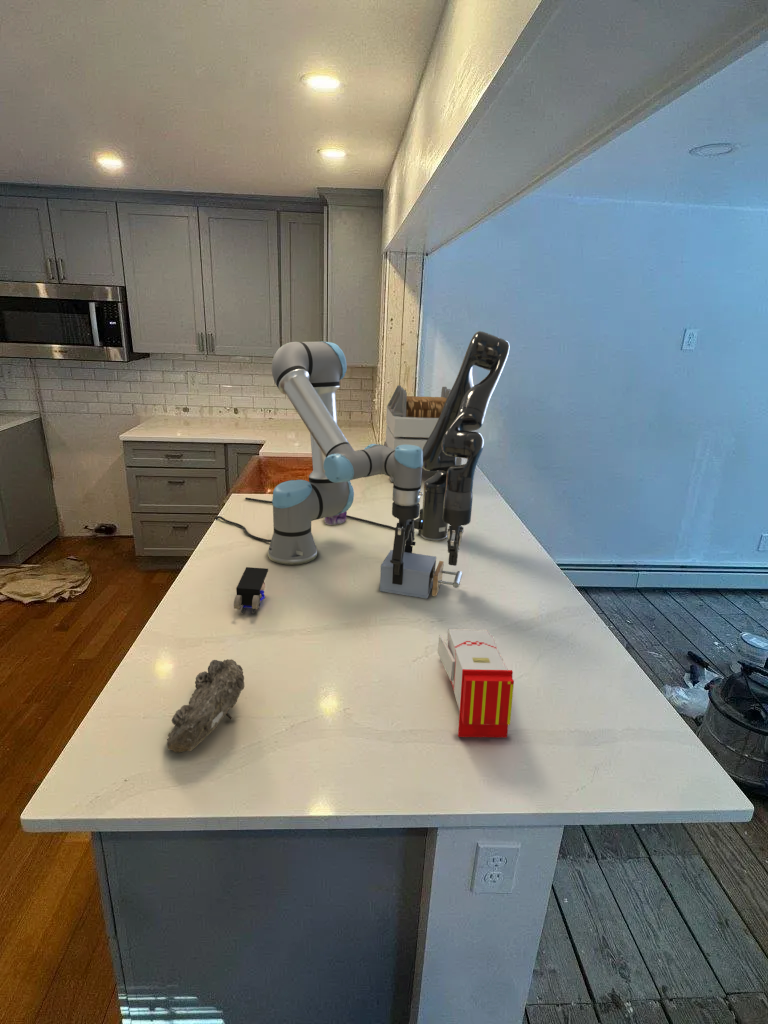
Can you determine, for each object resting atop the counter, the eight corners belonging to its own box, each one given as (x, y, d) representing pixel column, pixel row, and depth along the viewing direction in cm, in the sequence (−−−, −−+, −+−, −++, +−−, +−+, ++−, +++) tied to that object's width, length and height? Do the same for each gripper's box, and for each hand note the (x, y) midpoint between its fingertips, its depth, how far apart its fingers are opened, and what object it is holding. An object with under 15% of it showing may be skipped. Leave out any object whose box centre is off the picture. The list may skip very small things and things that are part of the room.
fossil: (192, 660, 117) (244, 628, 112) (224, 691, 120) (276, 661, 115) (142, 746, 98) (202, 712, 93) (182, 779, 101) (242, 748, 96)
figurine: (328, 527, 202) (328, 487, 197) (317, 518, 211) (318, 479, 206) (352, 524, 206) (353, 484, 201) (341, 515, 215) (342, 477, 210)
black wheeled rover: (260, 622, 143) (270, 588, 156) (258, 597, 140) (268, 565, 153) (233, 621, 143) (245, 588, 156) (231, 597, 139) (243, 564, 153)
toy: (488, 613, 130) (523, 677, 101) (484, 667, 133) (517, 744, 104) (435, 612, 130) (455, 676, 101) (432, 666, 133) (451, 743, 103)
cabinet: (434, 581, 166) (436, 556, 163) (427, 598, 156) (429, 572, 153) (389, 574, 169) (390, 549, 166) (379, 591, 159) (380, 565, 156)
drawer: (461, 583, 163) (463, 564, 161) (457, 599, 154) (459, 579, 152) (400, 574, 168) (401, 555, 165) (392, 589, 158) (393, 569, 156)
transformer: (382, 463, 289) (386, 382, 275) (445, 464, 293) (451, 384, 279) (390, 482, 257) (394, 392, 243) (460, 483, 261) (468, 394, 247)
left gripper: (410, 518, 143) (405, 595, 150) (427, 491, 164) (422, 560, 172) (381, 514, 145) (378, 591, 152) (402, 488, 166) (398, 556, 173)
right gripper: (469, 514, 144) (463, 576, 150) (474, 499, 156) (468, 556, 162) (439, 511, 146) (435, 572, 151) (447, 496, 158) (442, 553, 164)
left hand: (402, 574), depth 162 cm, fingers closed on cabinet, 11 cm apart
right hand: (452, 564), depth 157 cm, fingers closed
